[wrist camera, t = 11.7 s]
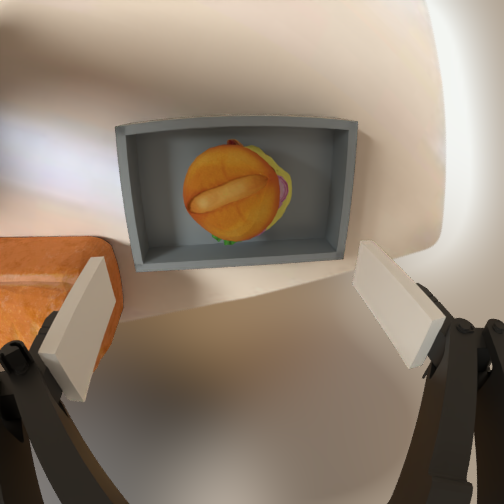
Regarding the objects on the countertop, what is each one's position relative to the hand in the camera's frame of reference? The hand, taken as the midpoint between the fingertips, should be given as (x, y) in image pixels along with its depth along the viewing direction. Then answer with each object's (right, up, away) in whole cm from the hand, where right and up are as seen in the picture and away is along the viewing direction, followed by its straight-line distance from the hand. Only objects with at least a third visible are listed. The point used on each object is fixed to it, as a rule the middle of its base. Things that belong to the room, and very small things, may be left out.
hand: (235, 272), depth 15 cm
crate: (-1, +9, +19) cm, 21 cm away
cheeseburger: (-1, +8, +19) cm, 20 cm away
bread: (-30, -2, +21) cm, 37 cm away
